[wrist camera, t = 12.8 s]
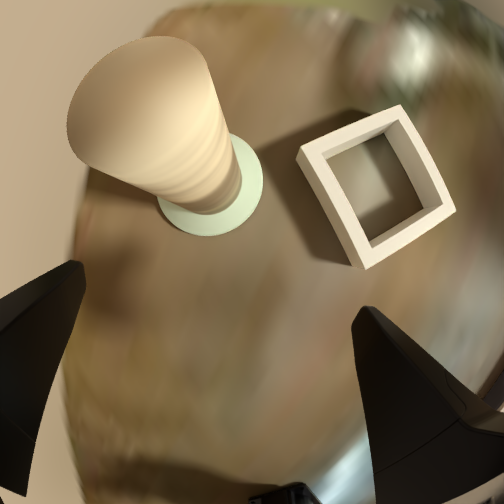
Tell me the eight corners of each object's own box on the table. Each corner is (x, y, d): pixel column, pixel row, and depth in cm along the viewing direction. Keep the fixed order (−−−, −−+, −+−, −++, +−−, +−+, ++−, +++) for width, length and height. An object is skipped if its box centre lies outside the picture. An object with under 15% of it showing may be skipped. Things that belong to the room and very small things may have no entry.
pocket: (436, 214, 20) (456, 210, 17) (352, 266, 20) (365, 269, 17) (385, 119, 20) (400, 104, 17) (295, 159, 20) (300, 146, 17)
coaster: (282, 203, 20) (283, 202, 20) (186, 255, 21) (184, 255, 20) (232, 116, 20) (231, 113, 20) (143, 166, 21) (140, 164, 20)
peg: (256, 175, 20) (244, 72, 7) (211, 229, 20) (126, 205, 7) (205, 136, 20) (140, 21, 7) (161, 187, 20) (46, 124, 7)
